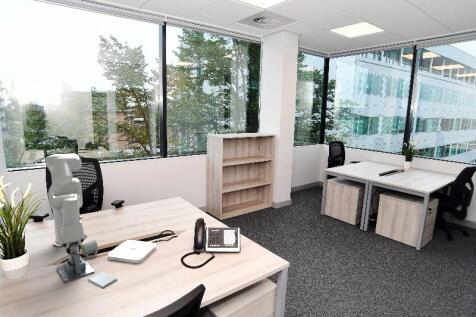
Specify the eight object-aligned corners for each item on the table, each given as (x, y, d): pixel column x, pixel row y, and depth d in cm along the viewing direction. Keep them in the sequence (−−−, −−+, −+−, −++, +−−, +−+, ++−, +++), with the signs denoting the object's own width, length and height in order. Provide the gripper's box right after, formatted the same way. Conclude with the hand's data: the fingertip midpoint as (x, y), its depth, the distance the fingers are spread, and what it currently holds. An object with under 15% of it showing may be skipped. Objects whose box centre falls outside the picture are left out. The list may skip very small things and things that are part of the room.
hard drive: (117, 278, 144) (102, 271, 150) (102, 286, 137) (87, 278, 143) (117, 281, 144) (102, 273, 150) (103, 289, 137) (88, 281, 143)
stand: (56, 268, 153) (54, 248, 151) (84, 260, 163) (83, 240, 161) (64, 283, 140) (62, 261, 139) (94, 272, 150) (93, 252, 148)
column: (69, 267, 152) (67, 241, 150) (77, 265, 155) (75, 239, 153) (72, 272, 148) (70, 245, 146) (80, 269, 151) (78, 243, 148)
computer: (139, 264, 160) (139, 260, 160) (105, 259, 165) (105, 255, 164) (157, 247, 182) (157, 243, 181) (127, 243, 186) (127, 239, 185)
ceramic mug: (80, 253, 170) (79, 241, 169) (94, 249, 176) (94, 238, 175) (85, 260, 163) (84, 248, 162) (100, 255, 168) (99, 244, 167)
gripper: (86, 215, 156) (88, 245, 158) (51, 222, 144) (54, 255, 147) (90, 218, 150) (92, 250, 153) (54, 226, 139) (57, 260, 142)
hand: (73, 252), depth 150 cm, fingers closed on column, 4 cm apart
